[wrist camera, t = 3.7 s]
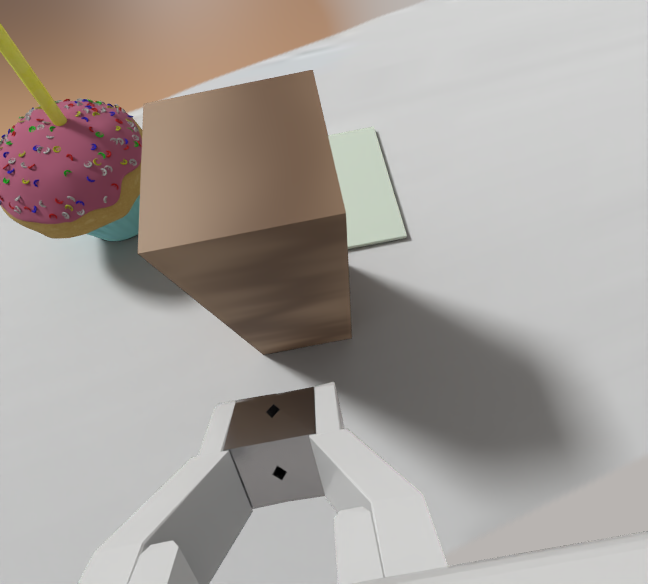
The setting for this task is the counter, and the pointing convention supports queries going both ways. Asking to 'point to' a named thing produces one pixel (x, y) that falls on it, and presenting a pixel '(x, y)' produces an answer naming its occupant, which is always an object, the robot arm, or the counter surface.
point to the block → (249, 210)
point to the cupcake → (70, 164)
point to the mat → (365, 189)
